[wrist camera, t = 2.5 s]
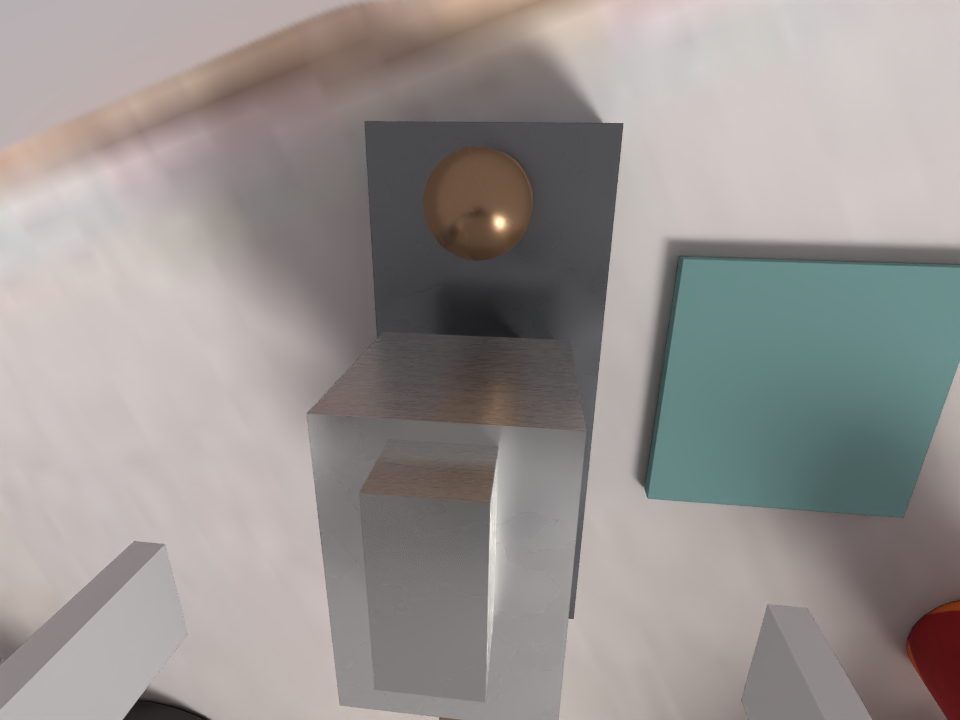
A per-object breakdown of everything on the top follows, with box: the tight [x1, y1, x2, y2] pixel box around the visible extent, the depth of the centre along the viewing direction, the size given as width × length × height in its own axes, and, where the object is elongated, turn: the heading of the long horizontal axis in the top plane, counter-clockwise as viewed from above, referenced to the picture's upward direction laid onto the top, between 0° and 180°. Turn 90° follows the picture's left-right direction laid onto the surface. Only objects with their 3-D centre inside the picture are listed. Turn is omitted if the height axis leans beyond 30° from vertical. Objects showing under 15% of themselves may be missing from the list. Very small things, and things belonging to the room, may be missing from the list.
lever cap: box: [307, 332, 586, 720], centre depth 15 cm, size 6×9×8 cm, turn 0°
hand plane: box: [365, 121, 623, 720], centre depth 21 cm, size 9×22×10 cm, turn 0°
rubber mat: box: [645, 256, 960, 518], centre depth 24 cm, size 12×12×1 cm
